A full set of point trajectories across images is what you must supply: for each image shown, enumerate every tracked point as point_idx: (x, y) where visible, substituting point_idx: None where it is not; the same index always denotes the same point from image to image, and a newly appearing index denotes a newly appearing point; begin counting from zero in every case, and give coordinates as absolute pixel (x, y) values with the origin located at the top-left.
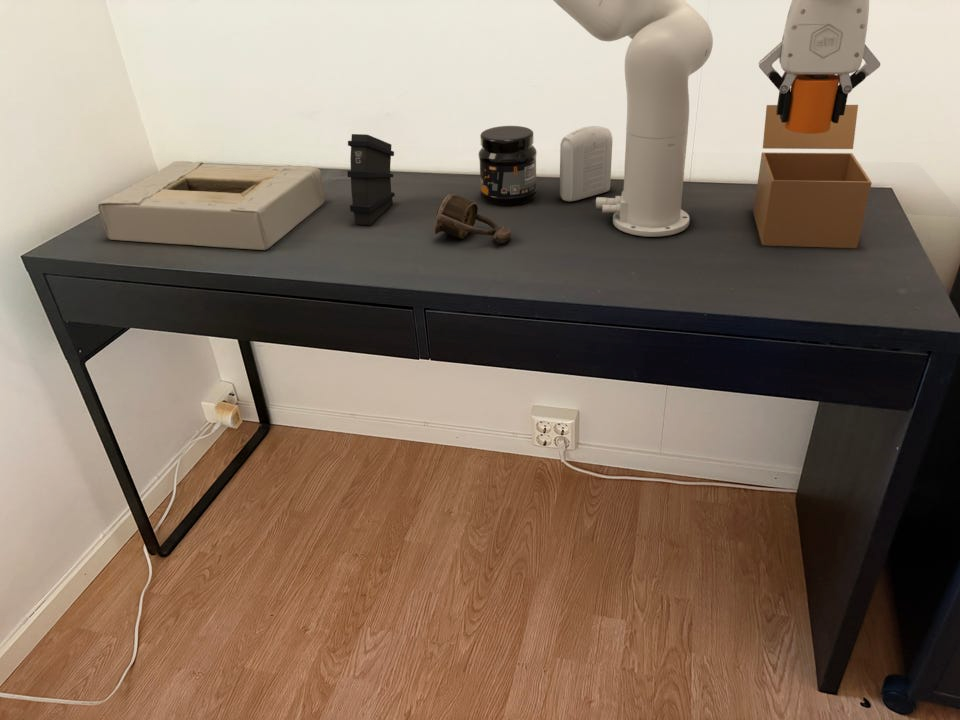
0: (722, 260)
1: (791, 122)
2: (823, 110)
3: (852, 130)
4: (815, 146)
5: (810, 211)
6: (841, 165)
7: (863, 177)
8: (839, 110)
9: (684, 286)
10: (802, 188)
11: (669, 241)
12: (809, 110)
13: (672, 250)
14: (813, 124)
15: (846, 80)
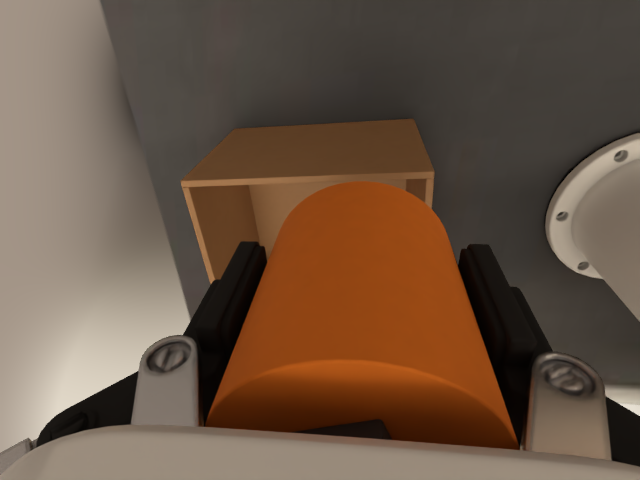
0: (518, 18)
1: (444, 237)
2: (306, 241)
3: None
4: None
5: (323, 147)
6: None
7: (202, 226)
8: (229, 270)
9: None
10: (347, 167)
11: (618, 115)
12: (382, 235)
13: (628, 62)
14: (350, 199)
15: (159, 402)
